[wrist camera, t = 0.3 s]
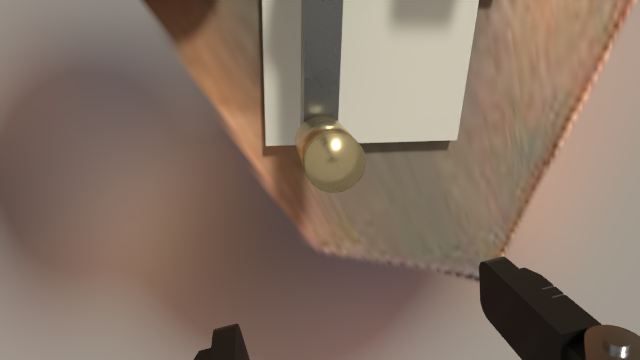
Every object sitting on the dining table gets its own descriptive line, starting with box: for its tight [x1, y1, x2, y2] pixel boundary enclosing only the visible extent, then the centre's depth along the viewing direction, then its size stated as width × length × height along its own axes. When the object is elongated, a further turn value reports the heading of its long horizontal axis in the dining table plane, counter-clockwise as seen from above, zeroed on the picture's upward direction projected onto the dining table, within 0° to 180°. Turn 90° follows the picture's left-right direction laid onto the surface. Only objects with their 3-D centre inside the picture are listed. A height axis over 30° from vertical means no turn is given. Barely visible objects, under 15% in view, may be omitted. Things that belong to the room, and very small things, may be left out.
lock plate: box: [262, 0, 479, 146], centre depth 29 cm, size 20×19×7 cm
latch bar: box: [295, 0, 366, 193], centre depth 24 cm, size 17×4×7 cm, turn 179°
